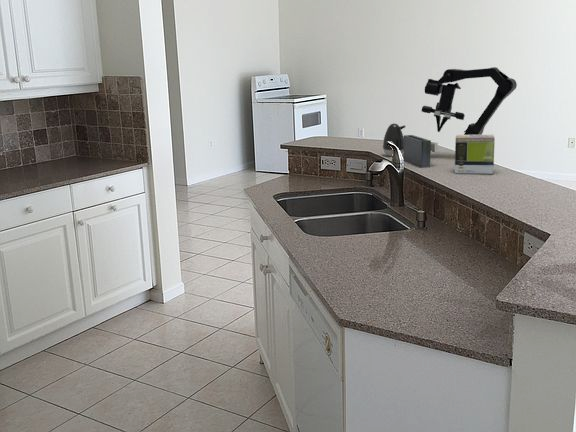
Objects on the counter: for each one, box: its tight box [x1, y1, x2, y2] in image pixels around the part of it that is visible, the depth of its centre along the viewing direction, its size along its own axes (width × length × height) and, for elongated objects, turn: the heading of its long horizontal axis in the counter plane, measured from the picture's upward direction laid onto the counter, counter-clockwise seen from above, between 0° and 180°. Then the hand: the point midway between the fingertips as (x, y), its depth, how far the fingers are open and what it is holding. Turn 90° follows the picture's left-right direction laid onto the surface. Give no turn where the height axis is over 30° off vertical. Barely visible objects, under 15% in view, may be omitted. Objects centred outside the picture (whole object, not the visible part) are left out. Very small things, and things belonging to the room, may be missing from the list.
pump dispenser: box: [382, 123, 406, 158], centre depth 300 cm, size 10×10×15 cm
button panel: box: [402, 134, 432, 168], centre depth 279 cm, size 4×20×11 cm, turn 12°
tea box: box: [454, 134, 495, 175], centre depth 257 cm, size 15×10×15 cm
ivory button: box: [431, 141, 439, 153], centre depth 272 cm, size 5×4×4 cm
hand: (438, 131), depth 288 cm, fingers closed
